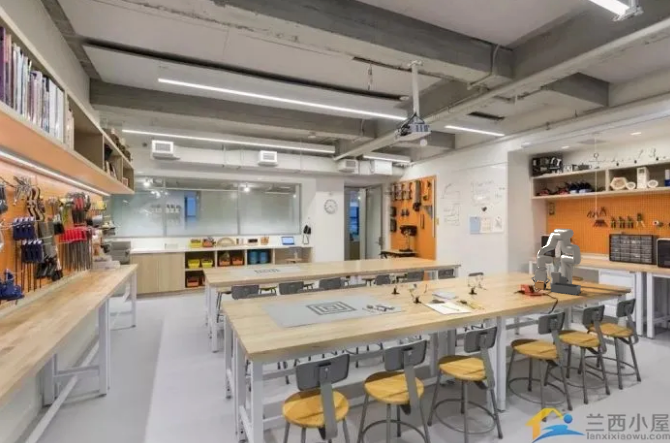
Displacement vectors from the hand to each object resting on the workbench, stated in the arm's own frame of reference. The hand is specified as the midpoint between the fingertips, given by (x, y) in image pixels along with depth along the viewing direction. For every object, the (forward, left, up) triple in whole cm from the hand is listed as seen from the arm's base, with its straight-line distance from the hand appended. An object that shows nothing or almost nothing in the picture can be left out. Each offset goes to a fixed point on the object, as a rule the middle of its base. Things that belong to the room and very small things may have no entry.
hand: (540, 287), depth 335 cm
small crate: (0, 0, -1) cm, 1 cm away
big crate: (+2, +21, -1) cm, 21 cm away
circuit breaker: (-18, +12, -2) cm, 22 cm away
